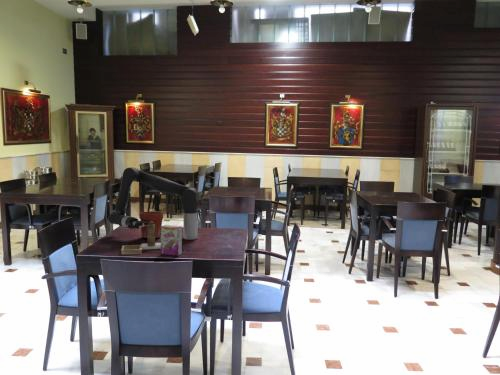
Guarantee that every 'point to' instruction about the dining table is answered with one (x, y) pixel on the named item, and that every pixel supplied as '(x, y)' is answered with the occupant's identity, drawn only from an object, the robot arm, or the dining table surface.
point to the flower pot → (155, 218)
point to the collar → (131, 249)
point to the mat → (157, 246)
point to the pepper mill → (150, 234)
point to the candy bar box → (171, 240)
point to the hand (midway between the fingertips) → (144, 226)
